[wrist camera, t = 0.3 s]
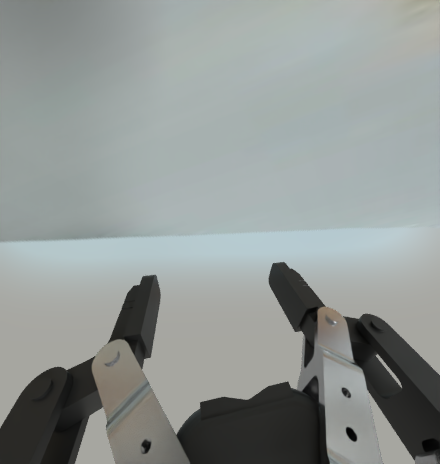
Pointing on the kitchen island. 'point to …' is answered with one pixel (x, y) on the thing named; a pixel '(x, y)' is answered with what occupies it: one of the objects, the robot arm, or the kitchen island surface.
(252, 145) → the kitchen island surface
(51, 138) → the kitchen island surface
